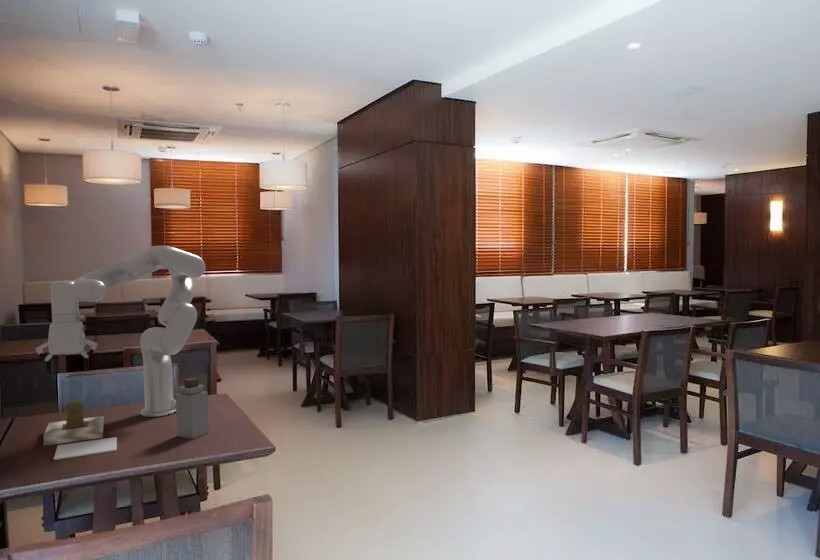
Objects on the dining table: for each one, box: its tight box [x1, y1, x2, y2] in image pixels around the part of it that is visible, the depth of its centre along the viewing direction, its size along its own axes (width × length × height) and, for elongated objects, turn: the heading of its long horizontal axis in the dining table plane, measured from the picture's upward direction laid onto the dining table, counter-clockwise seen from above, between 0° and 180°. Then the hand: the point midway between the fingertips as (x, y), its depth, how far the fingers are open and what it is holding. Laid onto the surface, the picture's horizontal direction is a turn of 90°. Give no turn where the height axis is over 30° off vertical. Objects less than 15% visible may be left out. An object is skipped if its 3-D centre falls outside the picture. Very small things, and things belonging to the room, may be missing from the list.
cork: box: [64, 400, 85, 430], centre depth 186 cm, size 6×6×11 cm
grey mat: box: [53, 437, 118, 461], centre depth 172 cm, size 16×13×1 cm
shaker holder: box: [42, 415, 105, 447], centre depth 187 cm, size 16×16×3 cm
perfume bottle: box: [175, 377, 210, 440], centre depth 185 cm, size 7×7×18 cm
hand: (68, 371), depth 186 cm, fingers open, 9 cm apart
